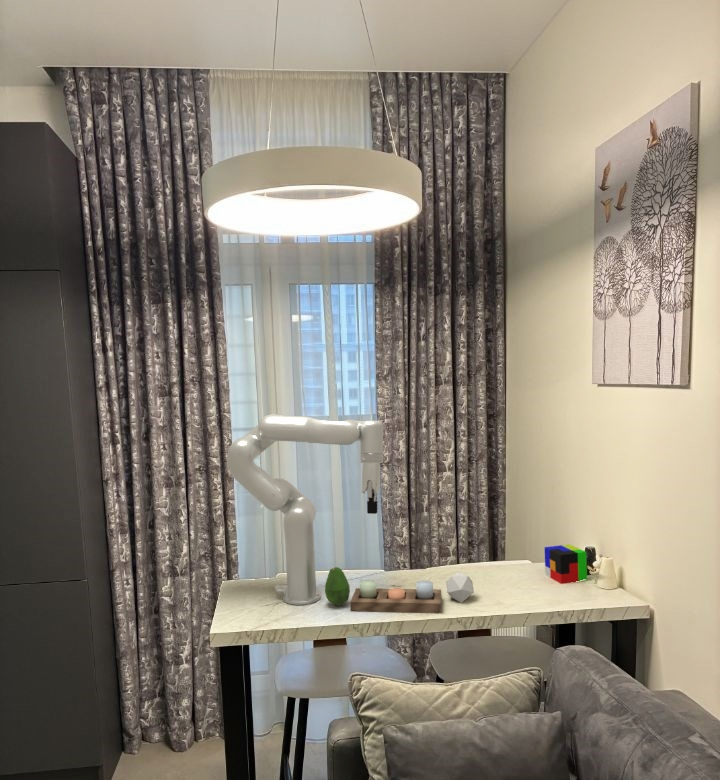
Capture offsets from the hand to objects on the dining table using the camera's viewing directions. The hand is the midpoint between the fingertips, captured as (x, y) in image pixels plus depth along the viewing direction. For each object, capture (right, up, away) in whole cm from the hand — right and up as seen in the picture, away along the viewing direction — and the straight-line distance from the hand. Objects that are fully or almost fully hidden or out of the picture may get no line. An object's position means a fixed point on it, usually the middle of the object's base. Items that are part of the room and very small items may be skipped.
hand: (372, 512), depth 196 cm
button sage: (-1, -25, -7) cm, 26 cm away
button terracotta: (+8, -27, -8) cm, 29 cm away
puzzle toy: (+68, -25, +11) cm, 74 cm away
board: (+8, -28, -8) cm, 30 cm away
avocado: (-11, -29, -6) cm, 31 cm away
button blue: (+16, -24, -9) cm, 31 cm away
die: (+28, -27, -5) cm, 39 cm away
